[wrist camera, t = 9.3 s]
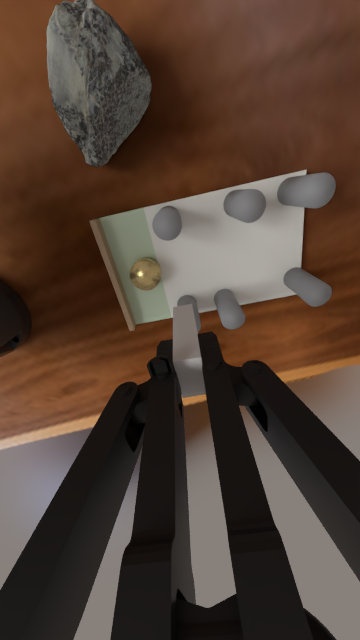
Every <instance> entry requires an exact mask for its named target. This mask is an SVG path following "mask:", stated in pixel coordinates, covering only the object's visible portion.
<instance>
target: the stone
mask: <svg viewBox="0 0 360 640" xmlns="http://www.w3.org/2000/svg"><path fill="white" fill-rule="evenodd" d="M47 66H48V79H49V87H50V90H51V92H52V102H53V105H54V108H55V110H56V112H57V114H58V115H59V117H60V120H61V121H62V123H63V125H64V127H65V130H66V132H67V133H68V134H69V136H70V137H71V138H72V139H73V140H74V141H75V143H76V144H78V147H79V149H80V150H81V151H82V153H83V154H84V156H85V161H86V163H87V164H90V165H92V166H96V167H97V166H103V165H104V164H106V163H107V162H108V161H109V159H110V158H111V156H112V155H113V154H115V153H116V151H117V149H118V147H119V146H120V145H121V144H122V143H123V141H124V140H125V139H126V138H127V137H128V136H129V134H130V133H131V132H132V131H133V130H134V129H135V127H136V126H137V125H138V124H139V122H140V120H141V118H142V116H143V114H144V113H145V110H146V109H147V107H148V104H149V103H150V99H151V96H150V92H151V86H152V84H151V78H150V74H149V72H148V70H147V68H146V66H145V64H144V63H143V61H142V59H141V58H140V57H139V55H138V53H137V50H136V48H135V46H134V44H133V43H132V41H131V40H130V39H129V37H128V36H127V35H126V34H125V33H124V31H123V30H122V29H121V28H120V26H119V25H118V24H117V23H116V21H115V20H114V19H113V17H111V16H110V15H109V14H108V13H107V12H106V11H104V10H103V9H102V8H100V7H99V6H98V5H97V4H96V3H95V2H94V1H93V0H75V2H74V3H73V2H69V1H63V2H62V3H60V4H58V5H56V7H55V9H54V11H53V13H52V16H51V17H50V20H49V24H48V27H47Z"/></svg>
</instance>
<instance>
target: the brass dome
mask: <svg viewBox="0 0 360 640" xmlns="http://www.w3.org/2000/svg"><path fill="white" fill-rule="evenodd" d="M161 273H162V271H161V267H160V265H159V263H158V262H157V261H156V260H155V259H153V258H151V257H141V258H139V259H138V260H136V261H135V263H134V264H133V266H132V267H131V269H130V274H129V275H130V280H131V282H132V284H133V285H134V286H135V287H137V288H138V289H140V290H145V291H147V290H152V289H154V288H155V287H156V286H157V285H158V284H159V282H160V278H161Z"/></svg>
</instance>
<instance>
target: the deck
mask: <svg viewBox="0 0 360 640" xmlns="http://www.w3.org/2000/svg"><path fill="white" fill-rule="evenodd" d="M335 188H336V183H335V179H334V177H333V176H332V175H331V174H329V173H316V174H309V175H306V170H302V171H298V172H293V173H289V174H285V175H281V176H276V177H272V178H268V179H264V180H259V181H255V182H251V183H246V184H242V185H238V186H234V187H229V188H225V189H221V190H216V191H212V192H208V193H204V194H199V195H195V196H191V197H187V198H182V199H178V200H174V201H169V202H165V203H161V204H157V205H152V206H148V207H144V208H140V209H135V210H131V211H127V212H122V213H118V214H114V215H110V216H105V217H101V218H97V219H93V220H90V221H89V222H90V225H91V228H92V230H93V233H94V236H95V238H96V241H97V244H98V247H99V249H100V252H101V255H102V257H103V260H104V263H105V265H106V268H107V271H108V274H109V276H110V279H111V282H112V284H113V287H114V290H115V292H116V295H117V298H118V300H119V303H120V306H121V309H122V311H123V314H124V317H125V319H126V322H127V325H128V327H129V330H130V331H133V330H135V327H136V324H141V323H146V322H152V321H157V320H162V319H168V318H173V307H177V306H182V305H187V304H192V306H193V311H194V317H195V322H196V327H197V332H199V330H200V328H201V323H200V317H199V313H201V312H206V311H212V310H217V311H218V313H219V316H220V319H221V322H222V324H223V326H224V327H225V328H227V329H237V328H239V327H240V326H242V325H243V323H244V321H245V314H244V312H243V310H242V309H241V307H240V305H243V304H249V303H254V302H259V301H265V300H270V299H275V298H281V297H286V296H291V295H298V296H299V297H300V298H301V299H303V300H304V301H305V302H306V303H307V304H309V305H310V306H313V307H317V306H321V305H323V304H325V303H326V302H327V301H328V300H329V299H330V297H331V294H332V289H331V287H330V286H329V285H328V284H326V283H324V282H323V281H321V280H319V279H318V278H316V277H314V276H313V275H311V274H309V273H308V272H306V271H305V270H303V269H301V260H302V242H303V224H304V207H306V208H320V207H322V206H324V205H326V204H327V203H328V202H329V201H330V200H331V198H332V197H333V195H334V192H335ZM141 257H151V258H153V259H155V260H156V261H157V262H158V263H159V265H160V267H161V271H162V273H161V278H160V282H159V284H158V285H157V286H156V287H155V288H154V289H152V290H147V291H145V290H140V289H138V288H137V287H135V286H134V285H133V284H132V282H131V280H130V275H129V274H130V269H131V267H132V266H133V264H134V263H135V261H136V260H138V259H139V258H141Z"/></svg>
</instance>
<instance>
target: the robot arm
mask: <svg viewBox="0 0 360 640" xmlns="http://www.w3.org/2000/svg"><path fill="white" fill-rule="evenodd" d="M30 330H31V319H30V315H29V312H28V310H27V308H26V306H25V304H24V303H23V301H22V300H21V299H20V297H19V296H18V295H17V294H16V293H15V292H14V291H13V290H12V289H11V288H10V287H8V286H7V285H6V284H4V283H3V282H1V281H0V357H2V356H4V355H6V354H9V353H11V352H12V351H14V350H15V349H17V348H18V347H19V346H20V345H21V344H22V343H23V342H24V341H25V340H26V339H27V337H28V335H29V333H30ZM156 356H157V357H155V358H153V359H151V360H150V361H149V362H148V364H147V368H148V370H149V373H150V376H151V379H149V380H148V381H147V382H145V383H142V384H140V385H138V386H137V384H136V383H134V382H126V383H123V384H121V385H120V386H118V387H117V388H116V390H115V391H114V393H113V395H112V396H111V398H110V400H109V401H108V403H107V405H106V407H105V408H104V410H103V412H102V414H101V415H100V417H99V419H98V421H97V422H96V424H95V426H94V428H93V429H92V431H91V433H90V435H89V436H88V438H87V440H86V442H85V444H84V445H83V447H82V449H81V450H80V452H79V454H78V456H77V457H76V459H75V461H74V463H73V464H72V466H71V468H70V469H69V471H68V473H67V475H66V477H65V478H64V480H63V482H62V483H61V485H60V487H59V489H58V490H57V492H56V494H55V496H54V498H53V499H52V501H51V503H50V504H49V506H48V508H47V510H46V512H45V513H44V515H43V517H42V518H41V520H40V522H39V524H38V525H37V527H36V529H35V531H34V532H33V534H32V536H31V538H30V539H29V541H28V543H27V545H26V546H25V548H24V550H23V551H22V553H21V555H20V557H19V558H18V560H17V562H16V564H15V565H14V567H13V569H12V571H11V572H10V574H9V576H8V578H7V579H6V581H5V583H4V585H3V587H2V588H1V590H0V640H73V639H74V636H75V633H76V631H77V628H78V626H79V623H80V620H81V618H82V615H83V612H84V610H85V607H86V603H87V601H88V598H89V595H90V593H91V590H92V586H93V584H94V581H95V578H96V576H97V573H98V569H99V567H100V564H101V561H102V558H103V556H104V553H105V550H106V547H107V544H108V541H109V539H110V536H111V533H112V530H113V527H114V524H115V522H116V518H117V516H118V513H119V510H120V507H121V504H122V502H123V499H124V496H125V493H126V490H127V487H128V485H129V482H130V479H131V476H132V473H133V471H134V468H135V465H136V462H137V459H138V456H139V454H140V451H141V448H142V445H143V448H142V455H141V463H140V473H139V481H138V488H137V497H136V505H135V513H134V522H133V530H132V537H131V540H130V543H129V544H128V545H127V547H126V548H125V551H124V554H123V557H122V563H121V569H120V575H119V583H118V590H117V597H116V605H115V611H114V618H113V626H112V632H111V640H336V639H335V637H334V636H333V635H332V634H331V633H330V632H329V630H328V629H327V628H326V627H325V626H324V625H323V624H322V623H321V622H320V621H319V620H318V619H317V618H316V617H314V616H313V615H312V614H311V613H310V612H308V611H307V610H306V609H304V608H303V605H302V602H301V599H300V596H299V593H298V589H297V586H296V583H295V580H294V576H293V573H292V570H291V567H290V564H289V561H288V557H287V554H286V551H285V547H284V544H283V542H282V539H281V536H280V534H279V531H278V529H277V528H276V526H275V523H274V521H273V518H272V514H271V511H270V508H269V505H268V501H267V498H266V494H265V491H264V488H263V484H262V481H261V478H260V475H259V471H258V468H257V465H256V462H255V458H254V455H253V452H252V448H251V445H250V441H249V438H248V435H247V431H246V428H245V425H244V422H243V418H242V415H241V412H240V408H239V405H242V406H245V407H246V409H247V411H248V412H249V414H250V415H251V416H252V418H253V420H254V421H255V423H256V424H257V426H258V427H259V429H260V430H261V432H262V434H263V435H264V437H265V438H266V440H267V441H268V443H269V444H270V446H271V447H272V449H273V450H274V452H275V453H276V455H277V456H278V458H279V459H280V461H281V462H282V464H283V465H284V467H285V468H286V470H287V472H288V473H289V475H290V476H291V478H292V479H293V480H294V482H295V484H296V485H297V487H298V488H299V490H300V491H301V493H302V494H303V496H304V497H305V499H306V500H307V502H308V503H309V505H310V506H311V508H312V510H313V511H314V512H315V514H316V515H317V517H318V518H319V520H320V522H321V523H322V525H323V526H324V527H325V529H326V531H327V532H328V534H329V535H330V537H331V538H332V540H333V541H334V543H335V544H336V546H337V548H338V549H339V550H340V552H341V554H342V555H343V557H344V558H345V560H346V561H347V563H348V564H349V566H350V567H351V569H352V570H353V572H354V573H355V575H356V576H357V578H358V580H359V581H360V461H359V460H358V459H357V458H356V457H355V456H354V455H353V454H352V453H351V451H349V449H348V448H347V447H345V445H344V444H343V443H342V442H341V441H340V440H339V439H338V438H337V437H336V436H335V435H334V434H333V433H332V432H331V431H330V430H329V429H328V428H327V427H326V426H325V425H324V424H323V423H322V422H321V421H320V419H318V417H317V416H316V415H314V414H313V412H312V411H311V410H310V409H309V408H308V407H307V406H306V405H305V404H304V403H303V402H302V401H301V400H300V399H299V398H298V397H297V396H296V395H295V394H294V393H293V392H292V391H291V390H290V389H289V388H288V386H287V385H286V384H285V383H284V382H283V381H282V380H281V379H280V378H279V377H278V376H277V375H276V374H275V373H274V372H273V371H272V370H271V369H270V368H269V367H268V366H267V365H266V364H265V363H263V362H261V361H257V360H252V361H248V362H246V363H244V364H243V365H242V367H235V366H231V365H229V364H227V363H226V362H225V361H224V359H223V356H222V353H221V349H220V346H219V343H218V339H217V336H216V335H215V334H214V333H213V332H207V333H202V334H198V332H197V327H196V322H195V317H194V311H193V306H192V304H187V305H182V306H177V307H173V339H171V340H166V341H161V342H160V343H159V345H158V346H157V355H156ZM181 394H182V396H181ZM203 394H206V397H207V404H208V410H209V416H210V423H211V429H212V436H213V442H214V447H215V455H216V461H217V467H218V473H219V480H220V487H221V492H222V499H223V505H224V512H225V518H226V525H227V532H228V541H229V548H230V555H231V561H232V568H233V574H234V580H235V587H236V593H237V594H235V595H233V596H231V597H229V598H227V599H226V600H224V601H222V602H220V603H218V604H216V605H215V606H213V607H210V608H204V607H202V606H199V605H196V600H195V588H194V579H193V573H192V567H191V552H190V531H189V510H188V491H187V470H186V450H185V429H184V410H183V402H182V397H183V398H184V397H191V396H197V395H203Z"/></svg>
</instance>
